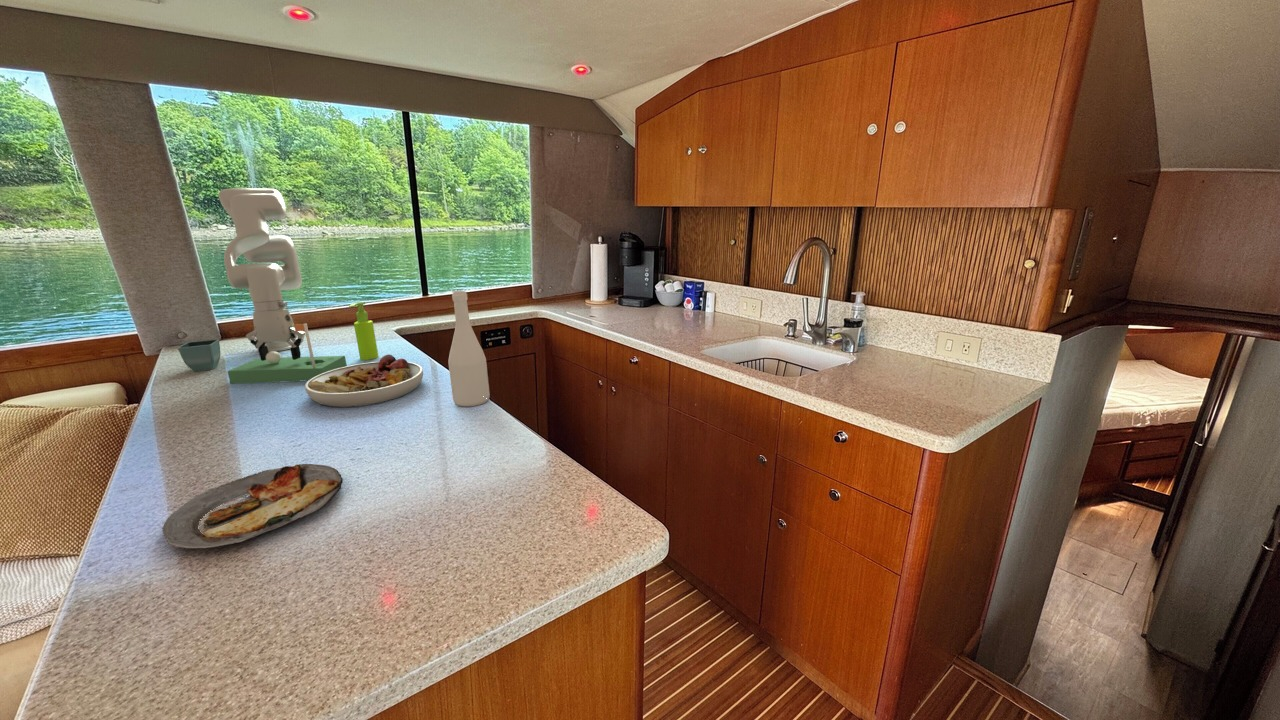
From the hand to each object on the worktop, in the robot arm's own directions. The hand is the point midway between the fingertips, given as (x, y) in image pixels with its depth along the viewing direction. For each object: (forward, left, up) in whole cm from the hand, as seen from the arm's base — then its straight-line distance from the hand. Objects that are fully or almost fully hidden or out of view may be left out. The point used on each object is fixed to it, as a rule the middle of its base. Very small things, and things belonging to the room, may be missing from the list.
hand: (281, 359), depth 158 cm
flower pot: (-10, -32, -6) cm, 34 cm away
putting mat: (0, +2, -5) cm, 6 cm away
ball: (0, -2, +1) cm, 2 cm away
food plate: (+79, +44, -6) cm, 91 cm away
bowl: (+18, +35, -6) cm, 40 cm away
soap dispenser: (-18, +18, -6) cm, 26 cm away
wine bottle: (+29, +67, -6) cm, 74 cm away
